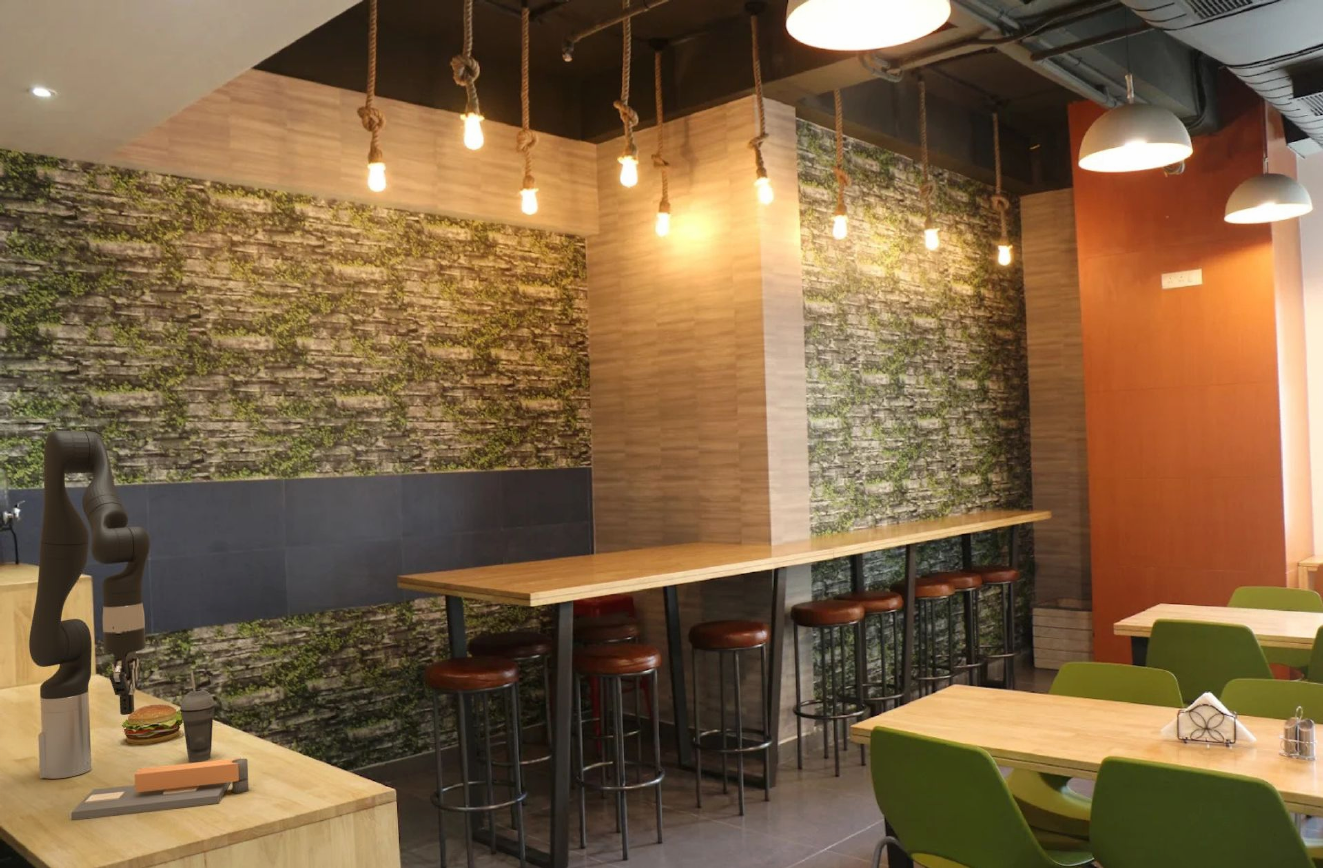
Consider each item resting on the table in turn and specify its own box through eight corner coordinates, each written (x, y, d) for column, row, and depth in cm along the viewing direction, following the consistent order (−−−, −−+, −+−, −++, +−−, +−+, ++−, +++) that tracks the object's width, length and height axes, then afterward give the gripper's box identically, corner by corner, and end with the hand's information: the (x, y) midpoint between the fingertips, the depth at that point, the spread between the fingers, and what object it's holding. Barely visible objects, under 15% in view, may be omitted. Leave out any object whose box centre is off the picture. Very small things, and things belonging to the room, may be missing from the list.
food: (120, 750, 247) (118, 716, 247) (124, 736, 260) (122, 704, 260) (184, 741, 253) (182, 708, 253) (185, 728, 266) (183, 696, 266)
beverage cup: (204, 764, 232) (200, 673, 233) (174, 763, 234) (171, 673, 234) (224, 754, 239) (220, 666, 240) (195, 753, 241) (192, 666, 241)
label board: (71, 820, 199) (71, 808, 199) (93, 796, 213) (93, 785, 213) (242, 800, 206) (242, 789, 206) (253, 779, 219) (253, 768, 219)
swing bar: (249, 774, 215) (248, 757, 215) (246, 780, 211) (245, 762, 211) (140, 786, 210) (139, 768, 210) (135, 792, 206) (134, 774, 206)
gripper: (113, 623, 216) (117, 707, 216) (92, 634, 203) (96, 723, 203) (153, 620, 218) (156, 704, 218) (134, 631, 205) (138, 720, 205)
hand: (127, 713), depth 210 cm, fingers closed
